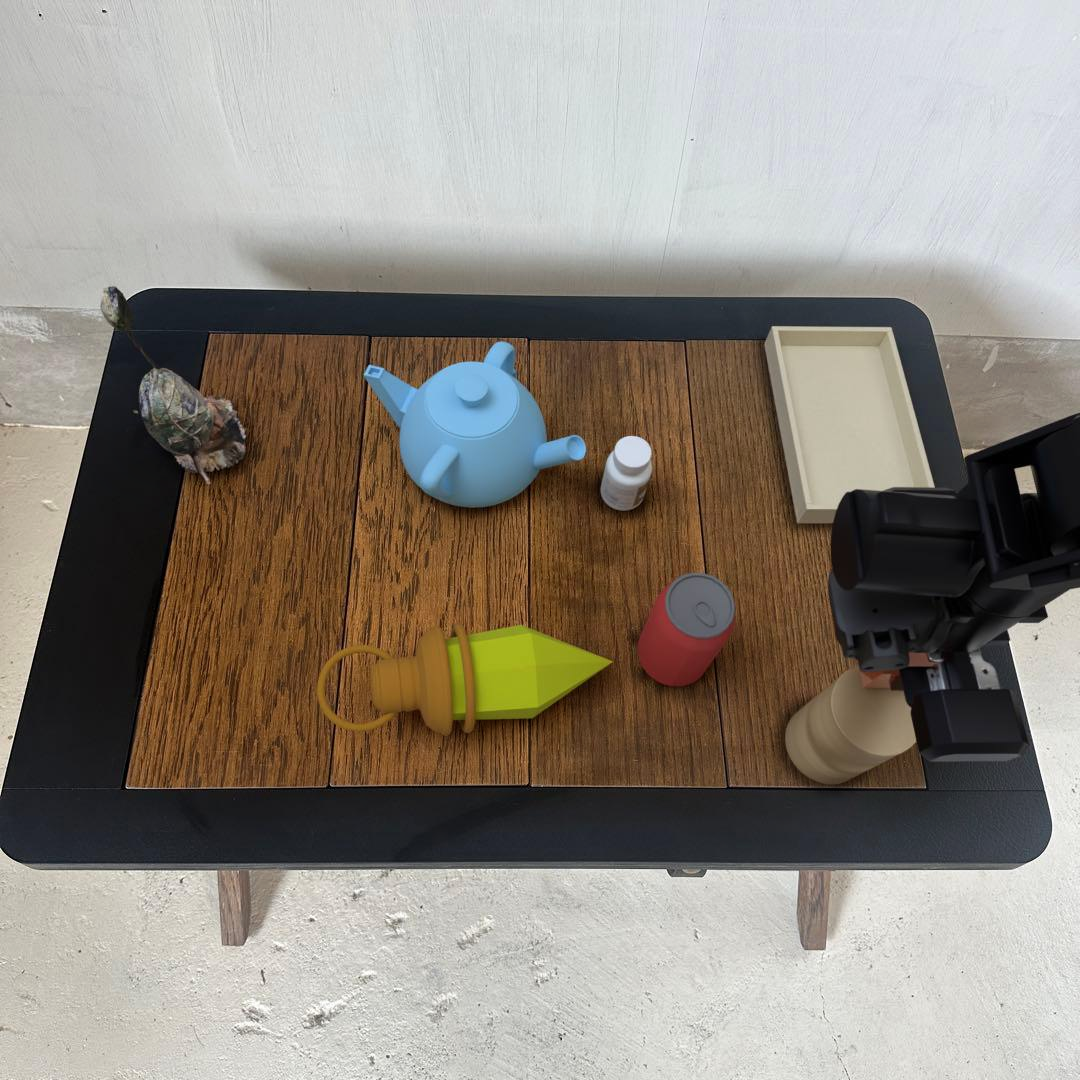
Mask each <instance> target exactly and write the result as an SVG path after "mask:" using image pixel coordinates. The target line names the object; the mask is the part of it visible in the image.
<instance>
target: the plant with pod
mask: <svg viewBox="0 0 1080 1080" xmlns="http://www.w3.org/2000/svg"><path fill="white" fill-rule="evenodd" d="M102 293H103V295H102V297H101V301H100V305H99V306H100V311H101V314H102V316H103V318H104V319H105V320H106V322H107V323H108V324H109V326H111V327H113V328H114V330H116V331H117V332H120V333H126V334H127V336H128V337H129V339H131V341H132V342H133V343H134V345H135V347H137V348H138V349H139V350H140V352H141V354H142V355H143V356H144V358H146V360H147V361H148V362H149V364H151V365H152V367H153V368H152V369H150V370H149V371H148V373H146V374H145V375H144V376H143V377H142V379H141V383H140V386H139V392H138V404H139V411H140V415H141V419H142V421H143V423H144V426H145V428H146V430H147V432H148V433H149V434H150V436H151V437H152V438H154V439H155V441H156V442H157V443H159V445H160V447H162V448H163V449H164V450H165V451H167V452H169V453H170V454H171V455H172V456H174V458H175V459H176V461H175V462H178V465H181V467H182V468H183V470H184V472H188V473H190V474H191V473H192V474H193V475H194V474H200V476H201V477H202V478H203V480H204V481H205V484H206V485H208V486H209V485H210V484H211V480H210V478H209V476H208V474H207V472H211V473H212V472H214V470H215V468H216V470H217V471H220V469H224V468H225V469H226V468H230V467H234V466H235V464H236V465H238V464H239V461H241V460H243V458H245V455H246V453H247V452H246V451H247V450H246V449H247V447H246V442H245V441H246V437H247V435H246V434H245V432H246V430H247V428H245V427H243V424H241V419H240V418H237V416H238V413H239V411H237V410H234V409H233V405H232V400H231V399H226V398H225V397H224V396H222V397H220V396H219V395H216V396H213V395H212V394H211V393H210V392H208V397H205V396H203V395H202V393H201V392H200V391H199V390H198V389H196V388H195V387H193V385H191V384H190V383H189V382H188V381H187V380H185V379H184V378H183V377H182V376H180V375H178V374H177V373H175V372H174V371H173V370H170V369H168V368H166V367H165V368H164V367H161V368H160V366H158V364H156V363H155V361H154V360H153V358H152V357H150V355H149V354H148V352H147V351H146V350H145V349H144V348H143V346H142V345H141V344H140V342H139V341H138V339H137V338H136V336H135V335H134V333H133V332H132V330H131V328H130V327H132V325H133V324H134V323H133V322H134V316H133V312H132V308H131V306H130V305H129V303H128V300H127V298H126V297H125V295H124V293H123V292H122V291H121V290H120V289H119V288H117V287H116V286H114V285H112V286H108V287H104V288H103V291H102ZM139 411H138V410H136V409H133V413H135V414H137V415H139V413H138V412H139Z"/></svg>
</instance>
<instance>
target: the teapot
mask: <svg viewBox="0 0 1080 1080" xmlns="http://www.w3.org/2000/svg"><path fill="white" fill-rule="evenodd" d="M515 362H516V349H515V347H514V345H512V344H511V343H509V342H507V341H502V340H501V341H496V342H495V343H494V344H493V345H492V346H491V348H490V349H489V351H488V352H487V354H486V356H485V358H484V360H483V362H481V361H462V362H458V363H454V364H452V365H448V366H446V367H444V368H442V369H440V370H439V371H437V372H436V373H435V374H433V375H432V376H431V377H429V378H428V379H427V380H426V381H424V383H422V385H421V386H420V387H419V388H416V387H414V386H412V385H410V384H408V383H406V382H405V381H403V380H402V379H400V378H398V377H397V376H395V375H394V374H392V373H390V372H388V371H387V370H386V369H385V368H384V367H381V366H377V365H372V364H368V366H367V367H366V369H365V371H364V373H363V378H364V379H365V380H366V381H367V383H368V384H369V386H370V387H371V389H372V391H373V392H374V394H375V395H376V396H377V397H378V399H379V400H380V402H381V403H382V405H383V406H384V408H385V409H386V411H387V412H388V414H389V416H391V417H390V418H392V419H393V421H394V423H395V424H396V426H397V427H398V428H400V431H399V436H398V437H399V438H398V439H399V444H398V445H399V453H400V458H401V461H402V465H403V466H404V469H405V471H406V473H407V474H408V476H409V477H410V479H411V480H412V481H413V482H414V483H415V484H416V485H417V486H418V487H419V488H420V489H421V490H422V491H423V492H424V493H425V494H426V495H429V496H431V497H432V498H433V499H436V500H439V501H440V502H443V503H445V504H449V505H452V506H454V507H455V506H456V507H460V508H485V507H492V506H495V505H500V504H502V503H504V502H506V501H507V502H508V501H509V500H511V499H512V498H515V497H516V496H518V495H519V494H521V493H522V492H523V491H524V490H526V488H528V487H529V485H530V484H531V483H532V482H533V481H534V480H535V479H536V477H537V476H538V474H539V472H540V471H541V470H544V469H547V468H552V467H556V466H560V465H564V464H568V463H572V462H573V463H574V462H576V461H581V460H583V458H584V457H585V456H586V453H587V446H586V442H585V441H584V439H583V438H582V437H581V436H579V435H578V434H571V435H569V436H565V437H561V438H558V439H555V440H551V441H548V435H547V428H546V423H545V420H544V417H543V414H542V411H541V409H540V407H539V404H538V403H537V401H536V400H535V398H534V396H533V394H532V393H531V392H530V391H529V389H528V388H527V387H526V386H525V385H523V384H522V383H521V382H520V381H519V380H518V379H517V378H518V372H517V371H516V369H515Z"/></svg>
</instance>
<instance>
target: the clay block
mask: <svg viewBox="0 0 1080 1080" xmlns="http://www.w3.org/2000/svg"><path fill="white" fill-rule="evenodd" d="M909 658H910V662H909V665H908V666H933V665H934V664H936V663H930V662H929V661H928V659H927V654H926V653H913V652H910V653H909ZM860 674H861V679H862V685H863V688H890V685H891V683H892V682H893V681H894V680H895V679H897V678H898V677H900V672H899V669H897V670H887V671H877V672H863V671H861V670H860Z"/></svg>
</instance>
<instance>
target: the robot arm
mask: <svg viewBox="0 0 1080 1080" xmlns="http://www.w3.org/2000/svg"><path fill="white" fill-rule="evenodd" d="M963 462H964V468H965V472H966V477H967V478H966V479H967V483H966V484H965V485H964V486H963V487H962V488H961V489H960V490H959V491H958V490H956V489H952V488H949V487H935V488H933V487H892V488H889V489H886V490H884V491H877V490H862V489H855V490H853V491H851V492H846V493H845V495H844V496H843V497H842V499H841V501H840V503H839V505H838V508H837V510H836V513H835V517H834V521H833V523H832V527H831V533H830V546H829V547H830V562H831V570H830V572H829V574H828V600H829V606H830V610H831V616H832V621H833V627H834V634H835V639H836V641H837V643H838V645H840V646H841V650H842V655H843V658H844V659H854V660H856V661H857V663H858V666H859V669H860V670H861V671H863V672H877V671H887V670H897V669H899V672H900V677H898V678H897V679H895V680H894V681H893V682H892V683H891V685H890V689H891V691H904V696H905V700H906V703H907V705H908V706H909V707H911V712H910V714H911V718H912V723H913V728H914V732H915V737H916V742H915V743H916V746H917V751H918V754H919V755H921V756H922V757H923V758H924V759H925V760H926V761H928V762H930V763H932V762H934V763H935V762H936V763H937V762H942V763H945V762H946V763H947V762H1009V761H1011V760H1014V759H1016V758H1019V757H1021V756H1022V755H1023V754H1024V753H1025V752H1026V751H1027V750H1028V748H1029V747H1030V742H1029V738H1028V735H1027V732H1026V728H1025V724H1024V721H1023V720H1024V719H1023V716H1022V713H1021V709H1020V705H1019V702H1018V698H1017V695H1016V692H1015V691H1013V690H1012V689H1010V688H1001V685H1000V682H999V677H998V674H997V671H996V668H995V667H994V665H993V664H991V663H990V662H988V661H985V660H984V659H983V655H982V651H981V648H982V647H983V646H984V647H985V646H986V647H987V646H989V647H991V646H992V647H996V646H997V647H998V646H1001V647H1002V646H1004V645H1005V644H1007V643H1009V642H1011V637H1010V633H1009V629H1011V628H1012V627H1014V626H1015V625H1017V624H1040V623H1042V622H1043V621H1045V620H1046V619H1048V618H1049V615H1048V611H1047V608H1046V606H1047V605H1048V604H1050V603H1051V602H1053V601H1054V600H1056V599H1058V598H1059V597H1061V596H1062V595H1064V594H1065V593H1067V592H1068V591H1070V590H1076V589H1079V588H1080V412H1077V413H1074V414H1071V415H1068V416H1066V417H1064V418H1060V419H1058V420H1055V421H1053V422H1051V423H1048V424H1045V425H1043V426H1040V427H1038V428H1035V429H1033V430H1030V431H1027V432H1025V433H1022V434H1019V435H1017V436H1014V437H1011V438H1009V439H1006V440H1004V441H1001V442H999V443H995V444H993V445H990V446H988V447H986V448H982V449H980V450H978V451H975V452H972V453H970V454H967V455H966V456H964V458H963ZM1026 467H1030V470H1031V475H1032V478H1033V482H1034V485H1035V486H1034V487H1035V491H1036V492H1024V493H1021V491H1020V486H1019V481H1018V477H1017V474H1016V469H1021V468H1026ZM910 652H913V653H926V654H927V659H928V661H929V662H930V663H936V664H934V665H933V666H908V665H909V662H910V658H909V653H910Z"/></svg>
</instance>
